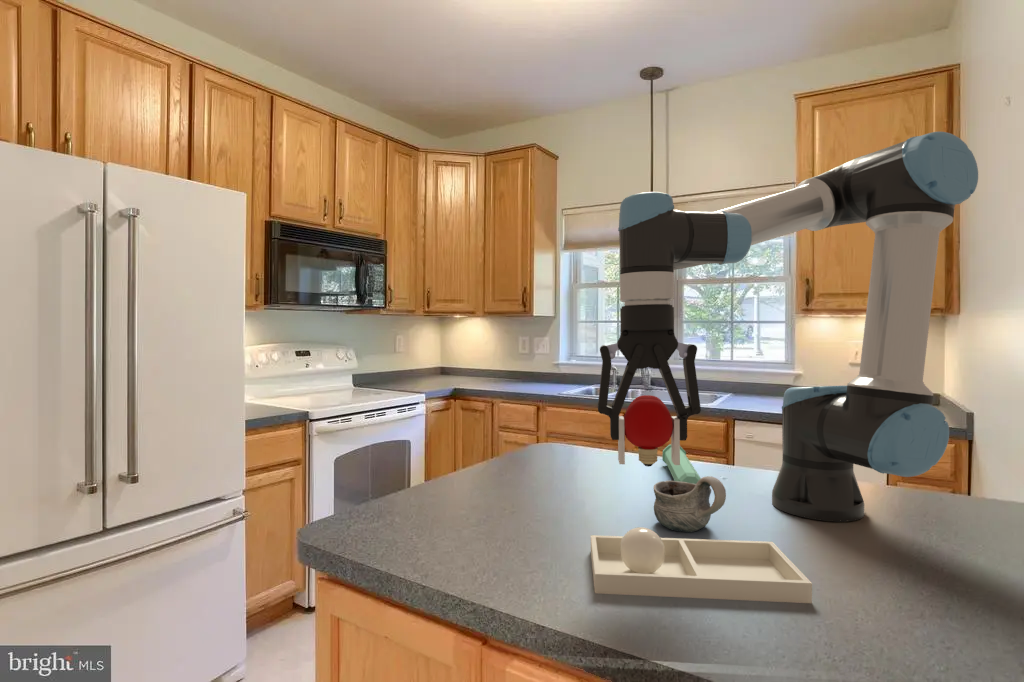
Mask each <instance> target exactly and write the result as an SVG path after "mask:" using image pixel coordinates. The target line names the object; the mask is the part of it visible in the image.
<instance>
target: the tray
mask: <svg viewBox="0 0 1024 682" xmlns="http://www.w3.org/2000/svg"><path fill="white" fill-rule="evenodd" d="M623 537H624V535H623V536H621V535H619V536H618V535H594V534H592V535H591V534H590V560H591V569H592V579H593V586H594V587H593V590H594V594H598V595H599V594H603V595H604V594H605V595H620V596H621V595H625V596H626V595H627V596H642V597H644V596H646V597H670V598H671V597H672V598H687V599H688V598H689V599H692V598H693V599H711V600H713V599H714V600H731V601H732V600H733V601H755V602H756V601H757V602H776V603H777V602H778V603H798V604H799V603H800V604H813V583H812V582H811V581H810V579H809V578H807V576H806V575H805V574H804V573H803V572H802V571H801V570H800V569H799V568H798V567H797V565H795V564H794V563H793V561H792V560H791V559H789V557H787V556H786V554H785V553H784V552H782V550H781V549H780V548H779V547H778V546H777V545H776V544H775V543H774V542H773V541H764V540H763V541H760V540H758V541H756V540H734V539H732V540H731V539H708V538H707V539H705V538H704V539H702V538H679V537H678V538H674V537H660V538H661V540H662V542H663V544H664V547H665V558H664V561H663V564H662V565H661V567H660V568H659V569H658V570H657V571H655V572H653V573H651V574H640V573H635V572H633V571H632V570H630V569H629V568H628V567H627V566H626V565H625V564H624V562H623V560H622V558H621V554H620V544H621V540H622V538H623Z"/></svg>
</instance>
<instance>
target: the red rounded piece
mask: <svg viewBox="0 0 1024 682" xmlns="http://www.w3.org/2000/svg"><path fill="white" fill-rule="evenodd" d="M671 416H672V415H671V412H670V410H669V408H668V407H667V405H666V404H665V403H664V402H663V400H661V399H660V397H657V396H655V395H648V394H647V395H646V394H645V395H639V396H637V397H635V398H634V399H633V400H632V401H631V402H630V404H629V405H628V406H627V409H626V411H625V413H624V416H623V417H624V435H625V439H626V440H627V442H630V444H632V445H633V446H635V447H637V448H638V461H640V462H641V464H643V466H645V467H652V466H653V465H654V464H655V463H656V462H658V449H659V448H660V447H662V446H664V445H665V444H667V443H668V442H669V441H671V440H670V439H671V435H672V431H673V423H672V418H671Z"/></svg>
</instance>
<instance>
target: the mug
mask: <svg viewBox="0 0 1024 682" xmlns="http://www.w3.org/2000/svg"><path fill="white" fill-rule="evenodd" d="M700 478H701V479H700V480H699V481H698V482H697V483H696V484H692V483H687V482H679V481H675V480H664V481H659V482H658V481H657V482H656V483H654V485H653V493H654V496H655V499H654V503H653V504H654V506H653V513H654V515H655V518H656V520H657V522H658V523H659V524H661V525H662V526H663V527H665V528H666V529H669V530H672V531H677V532H681V533H682V532H683V533H694V532H697V531H699V530H701V529H702V528H705V527H706V526H707V524H709V521H710V519H711V516H712V514H714V513H717V512H719V510H720V509H721V508H722V507H723V506H724V505H725V504H726V503H725V502H726V500H727V493H726V492H727V491H726V488H725V486H724V484H723V482H722V481H721V480H720V479H719V478H717V477H714V476H711V475H710V476H702V477H700ZM712 491H713V494H714V500H713V502H712V504H711V503H710V496H711V493H712Z"/></svg>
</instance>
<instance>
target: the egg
mask: <svg viewBox="0 0 1024 682" xmlns="http://www.w3.org/2000/svg"><path fill="white" fill-rule="evenodd" d="M623 536H624V537H623V538H622V540H621V544H620V554H621V558H622V560H623V562H624V564H625V565H626V566H627V567H628V568H629V569H630V570H632V571H633V572H635V573H640V574H651V573H653V572H655V571H657V570H658V569H659V568H660V567H661V565H662V564H663V561H664V558H665V547H664V544H663V542H662V540H661V538H662V537H661V536H659V535H658V533H656V532H655V531H654V530H653V529H650V528H648V527H644V526H641V527H634V528H631V529H630V530H628V531H627V532H626V533H625V534H624V535H623Z"/></svg>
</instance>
